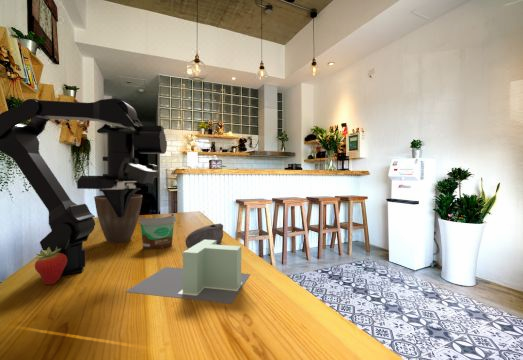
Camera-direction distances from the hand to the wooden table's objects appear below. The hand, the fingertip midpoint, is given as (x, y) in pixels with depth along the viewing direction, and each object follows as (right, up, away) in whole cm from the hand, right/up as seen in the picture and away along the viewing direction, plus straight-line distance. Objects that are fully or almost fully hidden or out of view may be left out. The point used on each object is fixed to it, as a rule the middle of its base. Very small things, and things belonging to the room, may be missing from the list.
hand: (120, 217), depth 61 cm
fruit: (-10, -13, -8) cm, 19 cm away
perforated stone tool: (+16, -13, +21) cm, 29 cm away
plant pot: (-16, -13, +28) cm, 35 cm away
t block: (+25, -13, -8) cm, 29 cm away
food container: (+2, -13, +21) cm, 24 cm away
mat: (+20, -13, -7) cm, 25 cm away
